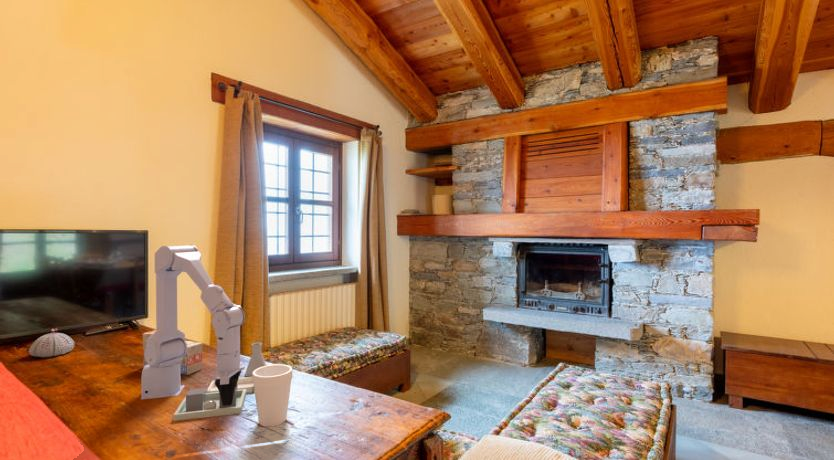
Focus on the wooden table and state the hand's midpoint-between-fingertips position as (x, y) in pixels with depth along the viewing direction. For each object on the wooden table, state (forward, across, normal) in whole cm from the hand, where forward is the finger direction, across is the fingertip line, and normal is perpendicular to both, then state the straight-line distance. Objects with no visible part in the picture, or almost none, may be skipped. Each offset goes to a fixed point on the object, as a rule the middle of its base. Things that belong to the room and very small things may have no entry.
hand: (228, 401), depth 112 cm
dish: (+1, +12, 0) cm, 12 cm away
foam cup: (+2, -13, -12) cm, 18 cm away
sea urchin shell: (+2, +71, +73) cm, 102 cm away
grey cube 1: (+1, 0, 0) cm, 1 cm away
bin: (+1, 0, +4) cm, 4 cm away
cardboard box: (+2, +39, +24) cm, 46 cm away
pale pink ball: (+1, -4, +4) cm, 5 cm away
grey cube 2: (+1, 0, +8) cm, 8 cm away
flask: (+2, +25, -5) cm, 26 cm away
